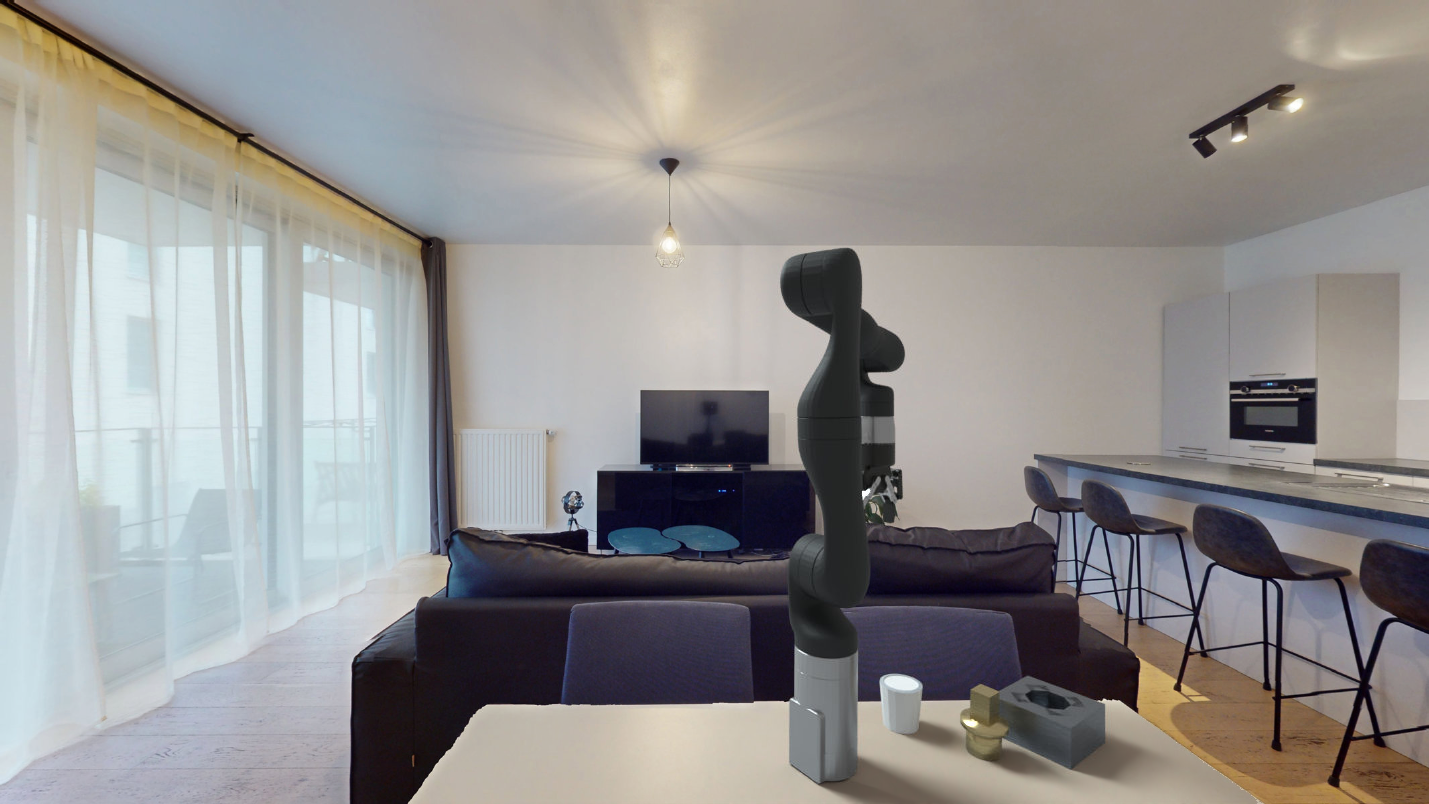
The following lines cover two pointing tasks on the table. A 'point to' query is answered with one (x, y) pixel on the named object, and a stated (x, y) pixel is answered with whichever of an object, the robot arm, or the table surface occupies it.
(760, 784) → the table surface
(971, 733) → the end cover
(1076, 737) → the housing
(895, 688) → the shot glass
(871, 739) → the table surface
